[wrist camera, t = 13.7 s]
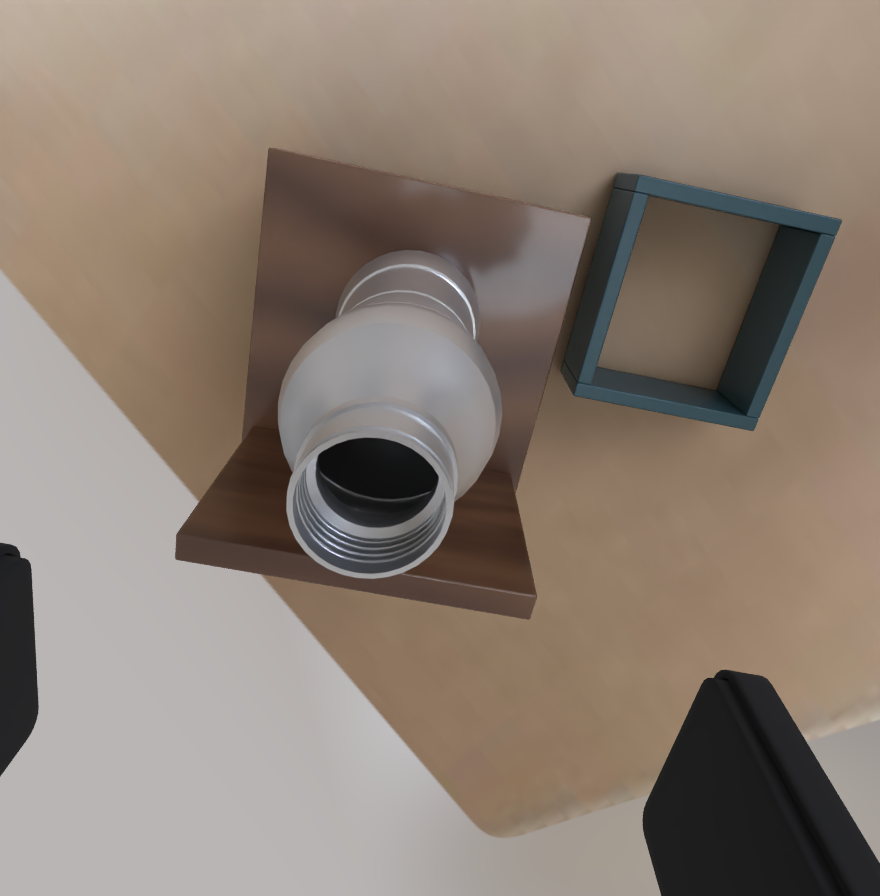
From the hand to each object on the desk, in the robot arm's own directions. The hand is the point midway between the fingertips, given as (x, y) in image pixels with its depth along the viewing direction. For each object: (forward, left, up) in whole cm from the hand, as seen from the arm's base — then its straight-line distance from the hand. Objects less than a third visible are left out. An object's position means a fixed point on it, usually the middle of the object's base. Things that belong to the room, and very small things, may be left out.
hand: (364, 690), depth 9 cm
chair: (+2, -1, -32) cm, 32 cm away
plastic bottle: (0, 0, -26) cm, 26 cm away
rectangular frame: (-2, +14, -33) cm, 36 cm away
